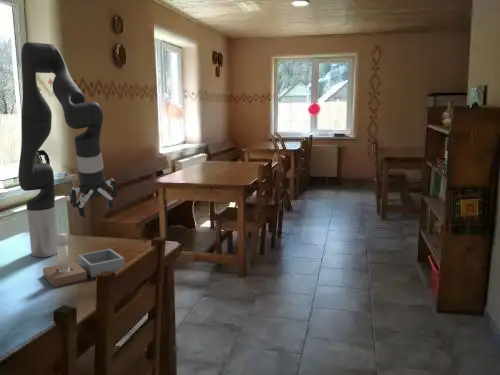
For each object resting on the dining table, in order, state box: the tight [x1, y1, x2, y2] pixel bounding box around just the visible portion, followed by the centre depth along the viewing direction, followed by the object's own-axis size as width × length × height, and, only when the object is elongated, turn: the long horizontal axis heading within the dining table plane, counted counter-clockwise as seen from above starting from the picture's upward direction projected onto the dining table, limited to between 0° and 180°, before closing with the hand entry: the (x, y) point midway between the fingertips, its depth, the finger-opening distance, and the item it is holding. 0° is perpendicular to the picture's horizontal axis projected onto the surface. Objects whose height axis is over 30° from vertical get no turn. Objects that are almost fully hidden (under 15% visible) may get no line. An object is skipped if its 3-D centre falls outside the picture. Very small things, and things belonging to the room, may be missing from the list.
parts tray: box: [77, 248, 126, 278], centre depth 153 cm, size 13×11×4 cm
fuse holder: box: [42, 261, 88, 288], centre depth 145 cm, size 12×10×2 cm
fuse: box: [55, 232, 70, 273], centre depth 144 cm, size 3×3×14 cm
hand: (96, 212), depth 148 cm, fingers open, 8 cm apart
